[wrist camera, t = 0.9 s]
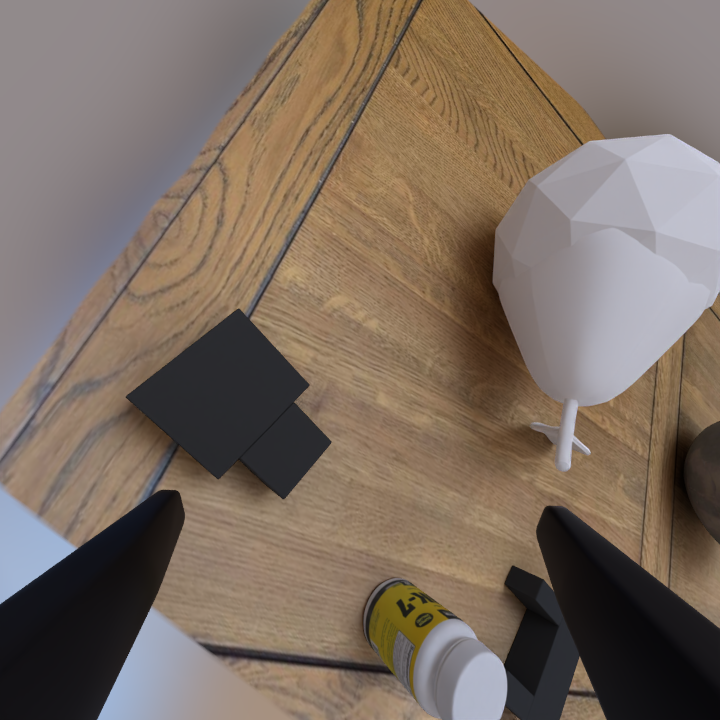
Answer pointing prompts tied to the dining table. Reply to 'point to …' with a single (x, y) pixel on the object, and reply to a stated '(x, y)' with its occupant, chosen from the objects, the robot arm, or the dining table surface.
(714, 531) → the bowl
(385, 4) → the dining table surface
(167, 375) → the pad piece
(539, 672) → the base pad
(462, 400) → the dining table surface
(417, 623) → the supplement bottle
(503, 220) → the pear ornament
